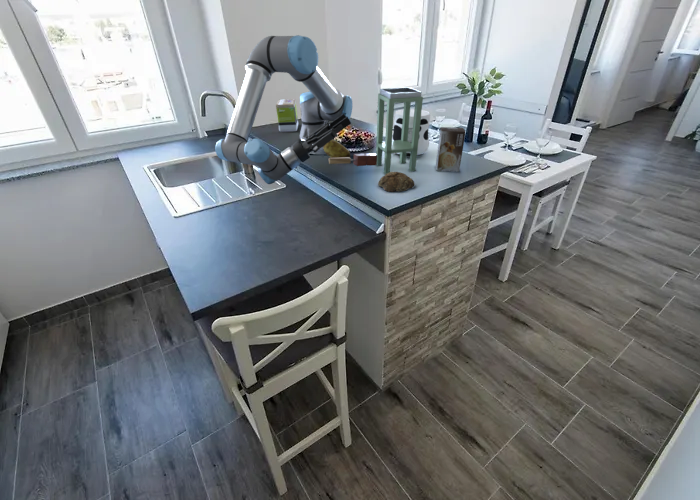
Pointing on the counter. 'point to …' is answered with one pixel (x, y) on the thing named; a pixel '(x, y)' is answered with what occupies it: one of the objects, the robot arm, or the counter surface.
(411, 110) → the milk container
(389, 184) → the bread roll
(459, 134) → the coffee box
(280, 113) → the tea box
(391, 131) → the shelf stand
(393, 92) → the steel pan
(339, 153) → the potato
